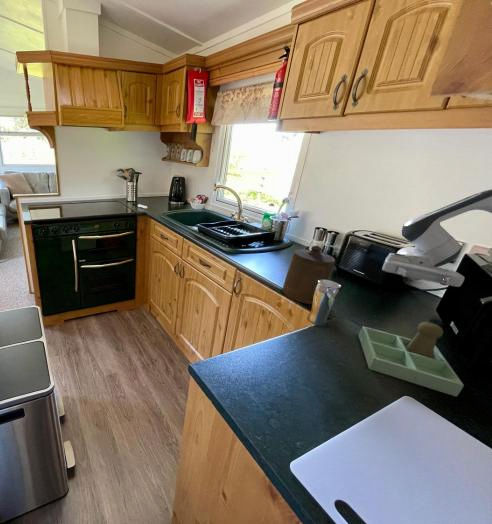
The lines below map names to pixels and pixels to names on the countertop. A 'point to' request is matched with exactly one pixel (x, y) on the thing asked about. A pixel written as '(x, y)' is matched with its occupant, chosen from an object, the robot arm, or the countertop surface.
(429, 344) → the cork
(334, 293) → the beer glass
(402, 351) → the compartment tray
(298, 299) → the wooden container
